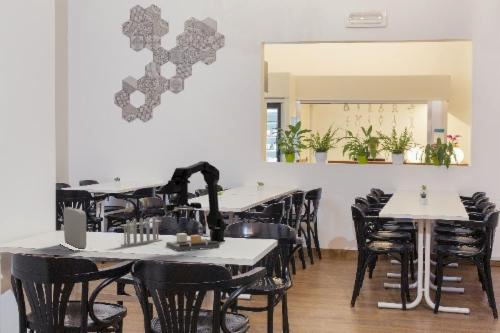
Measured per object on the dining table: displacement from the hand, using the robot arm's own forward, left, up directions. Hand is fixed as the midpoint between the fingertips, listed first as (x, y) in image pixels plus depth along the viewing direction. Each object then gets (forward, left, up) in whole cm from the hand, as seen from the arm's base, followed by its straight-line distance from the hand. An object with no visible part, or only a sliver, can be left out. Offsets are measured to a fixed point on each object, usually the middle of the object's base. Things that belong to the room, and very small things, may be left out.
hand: (182, 223), depth 366 cm
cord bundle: (-7, +4, -11) cm, 14 cm away
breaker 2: (-7, 0, -11) cm, 13 cm away
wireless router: (+46, -35, -13) cm, 59 cm away
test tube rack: (+12, -29, -13) cm, 34 cm away
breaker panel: (-7, -4, -13) cm, 15 cm away
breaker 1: (-3, -9, -11) cm, 14 cm away
